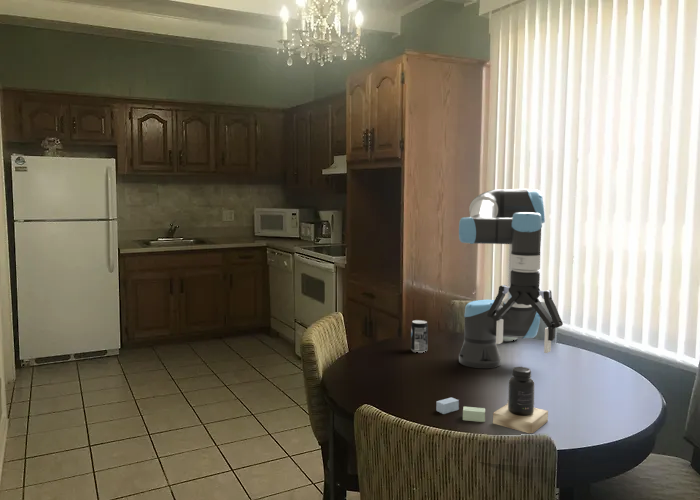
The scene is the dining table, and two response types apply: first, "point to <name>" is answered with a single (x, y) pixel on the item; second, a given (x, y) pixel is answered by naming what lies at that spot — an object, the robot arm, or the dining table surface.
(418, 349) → the beverage can
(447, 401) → the dusty blue brick
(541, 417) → the maple block
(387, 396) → the dining table surface
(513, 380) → the supplement bottle
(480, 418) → the sage brick
